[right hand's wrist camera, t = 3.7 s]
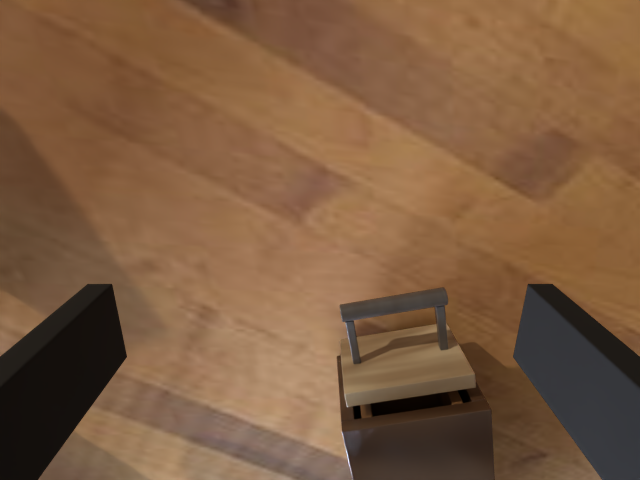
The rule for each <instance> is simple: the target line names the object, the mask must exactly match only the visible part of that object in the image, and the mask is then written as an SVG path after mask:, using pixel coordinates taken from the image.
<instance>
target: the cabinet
mask: <svg viewBox="0 0 640 480" xmlns="http://www.w3.org/2000/svg"><path fill="white" fill-rule="evenodd" d="M337 367H338V381H339V395H340V409H341V424H342V434H343V438H344V443H345V447H346V452H347V456H348V461H349V465H350V470H351V475H352V479H353V480H495V479H494V458H493V437H492V416H491V408H490V407H489V405H488V403H487V401H486V399H485V398H484V396H483V394H482V392H481V390H480V388H479V387H478V385H477V383H476V388H470V389H463V390H457V391H458V393H459V395H460V397H461V399H462V401H463V403H460V404H454V405H447V406H440V407H434V408H427V409H420V410H414V411H407V412H400V413H394V414H387V415H380V416H374V417H367V418H362V417H361V409H360V405H358V406H351V407H347V405H346V400H345V395H344V385H343V374H342V362H341V356H337Z"/></svg>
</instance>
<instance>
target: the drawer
mask: <svg viewBox="0 0 640 480" xmlns="http://www.w3.org/2000/svg"><path fill="white" fill-rule="evenodd" d="M447 304H448V296H447V292H446V290H445V288H444V287H442V288H436V289H430V290H424V291H418V292H412V293H406V294H400V295H394V296H388V297H382V298H377V299H371V300H365V301H359V302H353V303H347V304H341V305H340V312H341V318H342V322H345V323H346V328H347V333H348V338H347V339H341V340H340V351H341V362H342V374H343V385H344V395H345V400H346V405H347V407H351V406H358V405H360V409H361V417H362V418H367V417H374V416H380V415H387V414H394V413H400V412H407V411H414V410H420V409H427V408H434V407H440V406H447V405H454V404H460V403H463V401H462V399H461V397H460V395H459V393H458V391H457V390H463V389H470V388H476V380H475V373H474V371H473V369H472V367H471V366H470V364H469V362H468V360H467V359H466V357H465V355H464V353H463V351H462V350H461V348H460V346H459V344H458V342H457V341H456V339H455V337H454V335H453V333H452V332H451V330H450V328H449V326H448V324H447V323H446V317H445V306H444V305H447ZM431 307H435V316H436V324H433V325H427V326H421V327H415V328H409V329H403V330H397V331H390V332H384V333H378V334H372V335H366V336H360V337H356V331H355V326H354V320H358V319H364V318H370V317H376V316H382V315H388V314H394V313H401V312H407V311H413V310H419V309H425V308H431Z"/></svg>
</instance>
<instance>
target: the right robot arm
mask: <svg viewBox="0 0 640 480" xmlns="http://www.w3.org/2000/svg"><path fill="white" fill-rule="evenodd" d="M126 357H127V355H126V350H125V345H124V340H123V335H122V331H121V326H120V321H119V316H118V311H117V306H116V301H115V296H114V291H113V287H112V284H87V285H86V286H85V287H84V288H82V289H81V290H80V291H79V292H78V293H76V294H75V295H74V296H73V297H72V298H70V299H69V300H68V301H67V302H66V303H64V304H63V305H62V306H61V307H60V308H58V309H57V310H56V311H55V312H54V313H52V314H51V315H50V316H49V317H48V318H46V319H45V320H44V321H43V322H42V323H40V324H39V325H38V326H37V327H35V328H34V329H33V330H32V331H31V332H29V333H28V334H27V335H26V336H25V337H23V338H22V339H21V340H20V341H19V342H17V343H16V344H15V345H14V346H13V347H11V348H10V349H9V350H8V351H7V352H5V353H4V354H3V355H2V356H1V357H0V480H38V479H39V477H40V476H41V474H42V473H43V472H44V470H45V469H46V468H47V466H48V465H49V463H50V462H51V461H52V459H53V458H54V457H55V455H56V454H57V452H58V451H59V450H60V448H61V447H62V446H63V444H64V443H65V441H66V440H67V439H68V437H69V436H70V435H71V433H72V432H73V430H74V429H75V428H76V426H77V425H78V424H79V422H80V421H81V419H82V418H83V417H84V415H85V414H86V413H87V411H88V410H89V408H90V407H91V406H92V404H93V403H94V402H95V400H96V399H97V397H98V396H99V395H100V393H101V392H102V391H103V389H104V388H105V386H106V385H107V384H108V382H109V381H110V379H111V378H112V377H113V375H114V374H115V373H116V371H117V370H118V368H119V367H120V366H121V364H122V363H123V362H124V360H125V359H126ZM513 357H514V359H515V360H516V362H517V363H518V364H519V366H520V367H521V368H522V370H523V371H524V373H525V374H526V375H527V377H528V378H529V379H530V381H531V382H532V384H533V385H534V386H535V388H536V389H537V391H538V392H539V393H540V395H541V396H542V397H543V399H544V400H545V402H546V403H547V404H548V406H549V407H550V408H551V410H552V411H553V413H554V414H555V415H556V417H557V418H558V419H559V421H560V422H561V424H562V425H563V426H564V428H565V429H566V430H567V432H568V433H569V435H570V436H571V437H572V439H573V440H574V441H575V443H576V444H577V446H578V447H579V448H580V450H581V451H582V452H583V454H584V455H585V457H586V458H587V459H588V461H589V462H590V463H591V465H592V466H593V468H594V469H595V470H596V472H597V473H598V474H599V476H600V477H601V479H602V480H640V357H639V356H638V355H637V354H636V353H635V352H633V351H632V350H631V349H630V348H629V347H627V346H626V345H625V344H624V343H623V342H621V341H620V340H619V339H618V338H617V337H615V336H614V335H613V334H612V333H611V332H609V331H608V330H607V329H606V328H605V327H603V326H602V325H601V324H600V323H598V322H597V321H596V320H595V319H594V318H592V317H591V316H590V315H589V314H588V313H586V312H585V311H584V310H583V309H582V308H580V307H579V306H578V305H577V304H576V303H574V302H573V301H572V300H571V299H570V298H568V297H567V296H566V295H565V294H564V293H562V292H561V291H560V290H559V289H558V288H556V287H555V286H554V285H553V284H528V287H527V291H526V296H525V301H524V306H523V311H522V316H521V321H520V326H519V331H518V335H517V340H516V345H515V350H514V355H513Z"/></svg>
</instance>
